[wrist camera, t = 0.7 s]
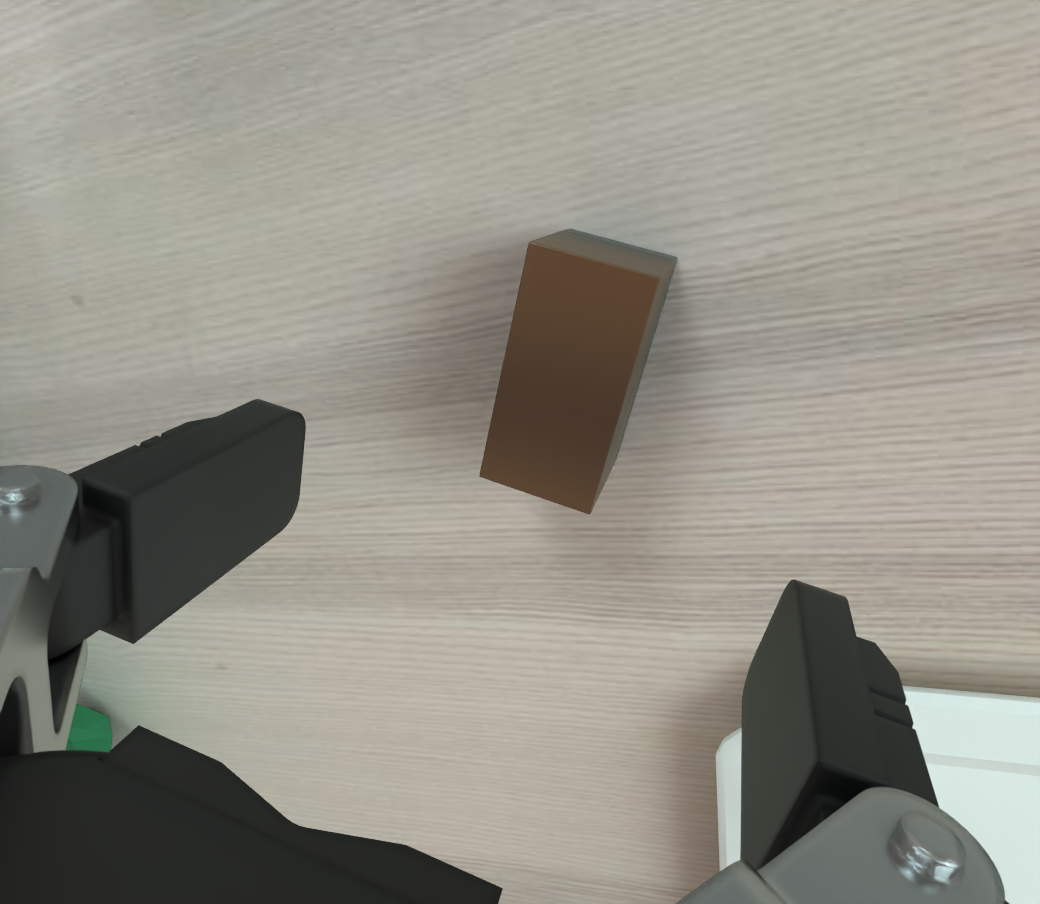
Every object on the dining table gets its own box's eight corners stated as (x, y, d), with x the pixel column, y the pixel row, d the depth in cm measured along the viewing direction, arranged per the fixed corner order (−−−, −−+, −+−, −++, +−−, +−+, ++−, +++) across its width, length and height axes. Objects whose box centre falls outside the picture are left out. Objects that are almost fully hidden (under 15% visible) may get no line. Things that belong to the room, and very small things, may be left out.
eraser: (568, 228, 25) (528, 241, 21) (678, 257, 24) (660, 277, 20) (521, 428, 29) (478, 476, 24) (616, 459, 28) (589, 515, 23)
